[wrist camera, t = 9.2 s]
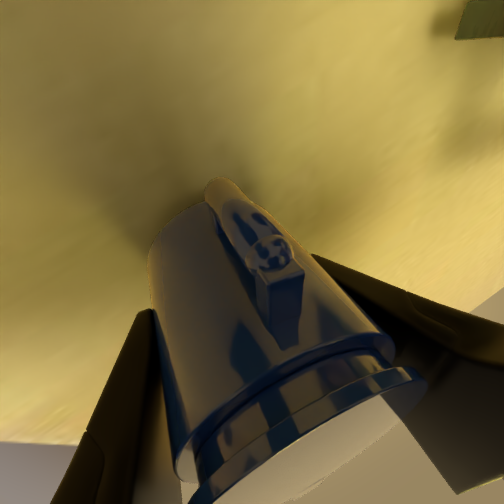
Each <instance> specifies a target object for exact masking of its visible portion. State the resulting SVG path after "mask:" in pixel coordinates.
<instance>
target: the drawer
mask: <svg viewBox="0 0 504 504" xmlns="http://www.w3.org/2000/svg"><path fill="white" fill-rule="evenodd" d="M502 37H504V0H474V1H470V2H468V3H467V4H466V6H465V9H464V12H463V15H462V18H461V21H460V24H459V27H458V30H457V33H456V36H455V40H472V39H487V38H502Z"/></svg>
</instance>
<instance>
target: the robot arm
mask: <svg viewBox="0 0 504 504" xmlns="http://www.w3.org/2000/svg"><path fill="white" fill-rule="evenodd" d="M310 255H311V256H312V257H313V258H314V259H315V260H316V261H317V262H318V263H319V264H320V265H321V266H322V267H323V268H324V269H325V270H326V271H327V272H328V273H329V274H330V275H331V276H332V277H333V278H334V279H335V280H336V281H337V282H338V283H339V284H340V286H341V287H342V288H343V289H344V290H345V291H346V292H347V293H348V294H349V295H350V296H351V297H352V298H353V299H354V300H355V301H356V302H357V303H358V304H359V305H360V306H361V307H362V308H363V309H364V310H365V311H366V312H367V313H368V314H369V315H370V316H371V317H372V318H373V319H374V320H375V321H376V322H377V323H378V324H379V325H380V326H381V327H382V328H383V329H384V330H385V331H386V332H387V333H388V334H389V335H390V336H391V338H392V339H393V340H394V343H395V347H396V352H395V356H394V359H393V362H392V364H391V365H392V366H393V367H398V366H410V367H412V368H415V369H416V370H417V371H418V372H419V373H420V374H421V375H422V376H423V377H424V378H425V379H426V381H427V382H428V389H427V391H426V393H425V395H424V396H423V398H422V399H421V400H420V402H419V403H418V404H417V405H416V406H415V407H414V408H413V409H412V410H411V411H410V412H409V413H408V414H407V415H406V416H405V417H404V418H403V419H402V422H403V423H404V424H405V426H406V427H407V428H408V430H409V431H410V432H411V434H412V435H413V437H414V438H415V439H416V441H417V442H418V443H419V445H420V446H421V448H422V449H423V450H424V452H425V453H426V454H427V456H428V457H429V459H430V460H431V461H432V463H433V464H434V465H435V467H436V468H437V469H438V471H439V472H440V474H441V475H442V476H443V478H444V479H445V480H446V482H447V483H448V485H449V486H450V487H451V488H452V490H453V491H454V492H455V493H456V494H457V495H459V494H462V493H464V492H467V491H470V490H472V489H475V488H477V487H480V486H483V485H485V484H488V483H491V482H493V481H496V480H499V479H501V478H502V479H504V325H503V324H500V323H496V322H493V321H490V320H487V319H484V318H481V317H478V316H475V315H472V314H469V313H466V312H463V311H460V310H457V309H454V308H451V307H448V306H445V305H442V304H439V303H437V302H434V301H431V300H429V299H426V298H423V297H421V296H418V295H416V294H413V293H411V292H408V291H407V292H406V291H405V290H403V289H400V288H398V287H395V286H393V285H390V284H388V283H385V282H383V281H380V280H378V279H375V278H373V277H370V276H368V275H365V274H363V273H360V272H358V271H355V270H353V269H350V268H348V267H345V266H343V265H340V264H338V263H335V262H333V261H330V260H328V259H325V258H323V257H320V256H318V255H315V254H310ZM86 430H87V431H86V432H84V434H83V436H82V439H81V441H80V443H79V445H78V448H77V450H76V452H75V454H74V456H73V458H72V461H71V463H70V465H69V467H68V469H67V471H66V473H65V475H64V477H63V479H62V481H61V483H60V485H59V487H58V489H57V491H56V493H55V495H54V497H53V499H52V501H51V503H50V504H182V494H181V484H180V479H178V478H177V476H176V475H175V473H174V472H173V466H172V459H171V451H170V443H169V436H168V428H167V420H166V412H165V405H164V397H163V389H162V381H161V374H160V366H159V358H158V350H157V342H156V335H155V327H154V319H153V311H152V309H146V310H143V311H140V312H138V314H137V315H136V318H135V320H134V322H133V324H132V327H131V329H130V331H129V333H128V336H127V338H126V340H125V342H124V345H123V347H122V349H121V351H120V354H119V356H118V358H117V360H116V363H115V365H114V367H113V369H112V372H111V374H110V376H109V378H108V380H107V383H106V385H105V387H104V389H103V392H102V394H101V396H100V398H99V401H98V403H97V405H96V407H95V410H94V412H93V414H92V416H91V419H90V421H89V423H88V425H87V428H86Z"/></svg>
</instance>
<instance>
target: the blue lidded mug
mask: <svg viewBox="0 0 504 504" xmlns="http://www.w3.org/2000/svg"><path fill="white" fill-rule="evenodd" d="M204 198H205V201H204V202H200V203H197V204H195V205H193V206H191V207H188V208H187V209H185V210H183V211H182V212H180V213H179V214H177V215H176V216H175V217H173V218H172V219H171V220H170V221H169V222H168V223H167V224H166V225H165V226H164V227H163V228H162V229H161V231H160V232H159V233H158V235H157V236H156V238H155V240H154V241H153V243H152V246H151V248H150V251H149V255H148V260H147V273H148V280H149V288H150V296H151V304H152V311H153V319H154V327H155V335H156V342H157V350H158V358H159V366H160V374H161V381H162V389H163V397H164V405H165V412H166V420H167V428H168V436H169V443H170V451H171V459H172V466H173V472H174V473H175V475H176V476H177V478H178V479H180V480H181V481H183V482H187V483H194V484H198V487H199V488H198V489H197V491H196V492H195V493H194V494H193V496H192V497H191V499H190V501H189V502H188V504H283V503H285V502H286V501H288V500H290V499H291V498H292V500H293V501H295V500H297V499H298V498H300V497H301V496H303V495H305V494H306V493H308V492H309V491H311V490H312V489H314V488H315V487H317V486H319V485H320V484H322V482H323V480H324V478H325V477H327V476H328V475H329V474H331V473H333V472H334V471H336V470H337V469H339V468H340V467H342V466H343V465H344V464H346V463H347V462H349V461H350V460H352V459H353V458H354V457H356V456H357V455H358V454H360V453H361V452H363V451H364V450H365V449H366V448H368V447H369V446H370V445H372V444H373V443H374V442H376V441H377V440H378V439H380V438H381V437H382V436H383V435H384V434H386V433H387V432H388V431H389V430H391V429H392V428H393V427H394V426H395V425H396V424H397V423H399V422H400V421H401V420H402V419H403V418H404V417H405V416H406V415H407V414H408V413H409V412H410V411H411V410H412V409H413V408H414V407H415V406H416V405H417V404H418V403H419V402H420V400H421V399H422V398H423V396H424V395H425V393H426V391H427V389H428V382H427V381H426V379H425V378H424V377H423V376H422V375H421V374H420V373H419V372H418V371H417V370H416V369H415V368H412V367H410V366H398V367H393V366H392V365H391V364H392V362H393V359H394V356H395V352H396V347H395V343H394V340H393V339H392V338H391V336H390V335H389V334H388V333H387V332H386V331H385V330H384V329H383V328H382V327H381V326H380V325H379V324H378V323H377V322H376V321H375V320H374V319H373V318H372V317H371V316H370V315H369V314H368V313H367V312H366V311H365V310H364V309H363V308H362V307H361V306H360V305H359V304H358V303H357V302H356V301H355V300H354V299H353V298H352V297H351V296H350V295H349V294H348V293H347V292H346V291H345V290H344V289H343V288H342V287H341V286H340V284H339V283H338V282H337V281H336V280H335V279H334V278H333V277H332V276H331V275H330V274H329V273H328V272H327V271H326V270H325V269H324V268H323V267H322V266H321V265H320V264H319V263H318V262H317V261H316V260H315V259H314V258H313V257H312V256H311V255H310V254H309V253H308V252H307V251H306V250H305V249H304V248H303V247H302V246H301V245H300V244H299V243H298V242H297V241H296V240H295V239H294V238H293V237H292V236H291V235H290V234H289V233H288V232H287V231H286V230H285V229H284V228H283V227H282V226H281V225H280V224H279V223H278V222H277V221H276V220H275V219H274V218H273V217H272V215H271V214H270V213H269V212H267V211H266V210H265V209H264V208H262V207H261V206H259V205H257V204H256V203H253V202H252V201H251V200H250V199H249V198H248V197H247V196H246V195H245V194H244V193H243V192H242V191H241V190H240V189H239V188H238V186H237V185H236V184H235V183H234V182H233V181H231V180H230V179H228V178H225V177H217V178H214V179H212V180H211V181H210V182H209V183H208V184H207V185H206V187H205V191H204Z"/></svg>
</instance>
